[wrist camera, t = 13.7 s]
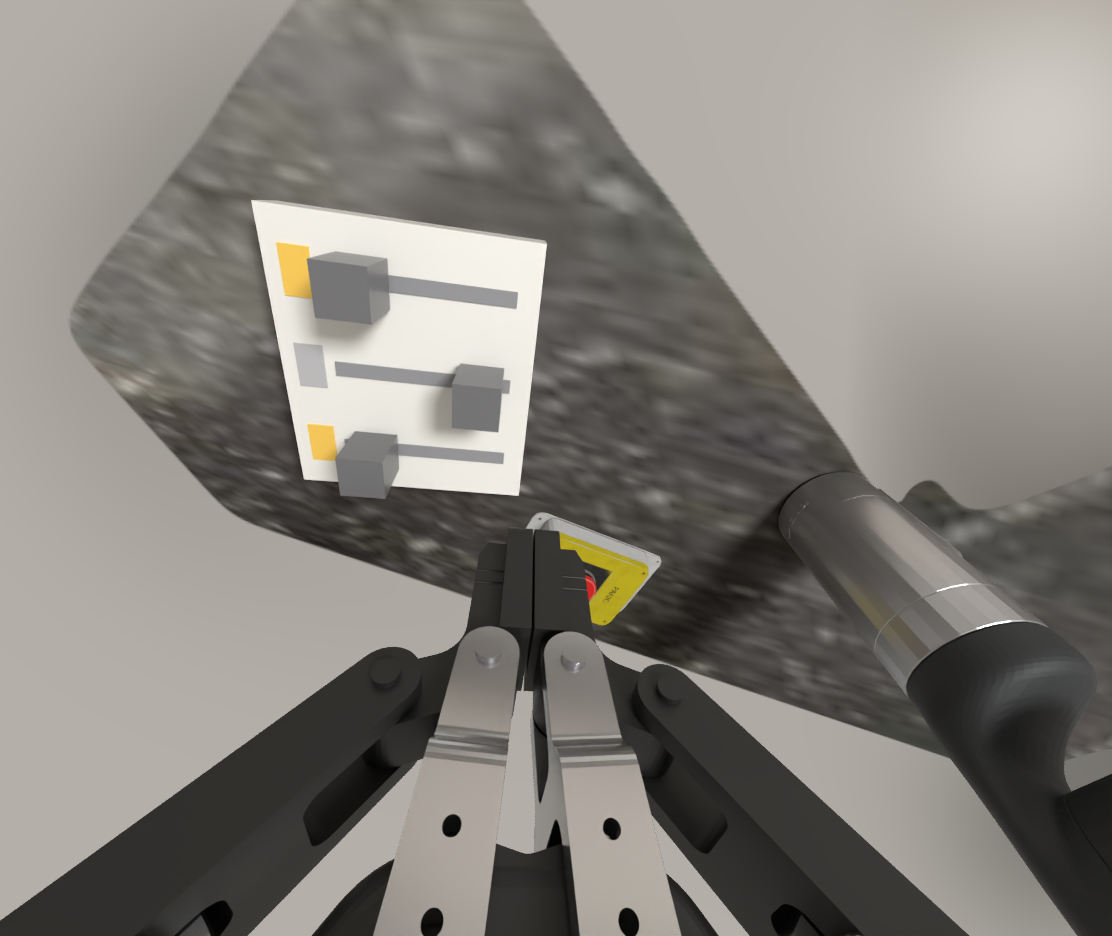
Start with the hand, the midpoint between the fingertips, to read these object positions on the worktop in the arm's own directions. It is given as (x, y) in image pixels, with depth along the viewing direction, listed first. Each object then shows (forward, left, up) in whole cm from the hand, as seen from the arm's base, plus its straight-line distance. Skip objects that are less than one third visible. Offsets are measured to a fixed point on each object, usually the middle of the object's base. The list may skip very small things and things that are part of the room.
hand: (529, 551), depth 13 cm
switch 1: (+10, -3, -20) cm, 23 cm away
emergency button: (-8, +23, -24) cm, 34 cm away
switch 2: (+10, +9, -20) cm, 24 cm away
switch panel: (+8, +3, -23) cm, 25 cm away
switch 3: (+3, +3, -20) cm, 20 cm away
